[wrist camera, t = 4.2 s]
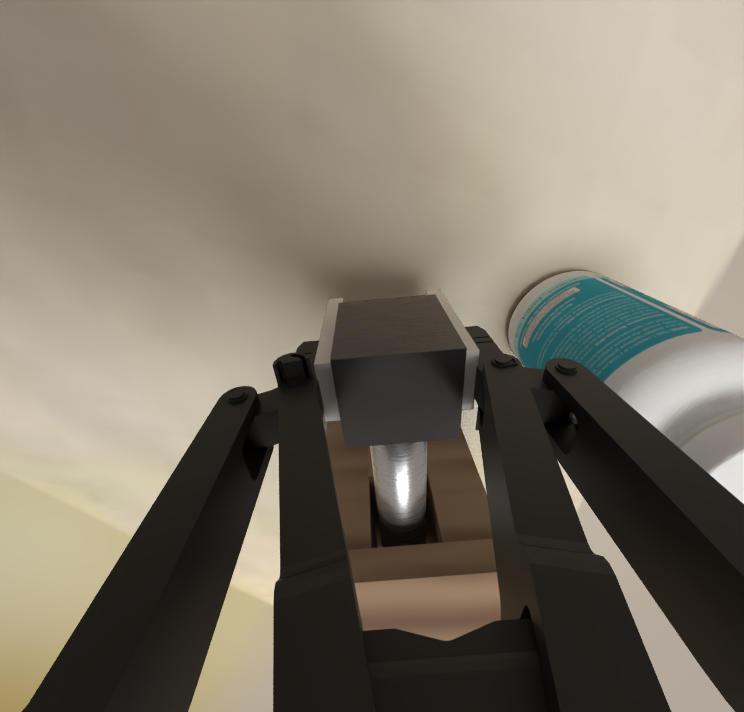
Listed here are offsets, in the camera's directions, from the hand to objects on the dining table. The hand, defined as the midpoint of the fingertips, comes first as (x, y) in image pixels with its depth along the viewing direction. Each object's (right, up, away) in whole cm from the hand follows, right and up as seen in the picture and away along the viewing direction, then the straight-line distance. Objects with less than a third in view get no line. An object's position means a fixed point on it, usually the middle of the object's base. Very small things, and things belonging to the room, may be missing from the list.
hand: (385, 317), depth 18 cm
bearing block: (+1, -11, +11) cm, 16 cm away
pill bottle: (+12, +1, +5) cm, 13 cm away
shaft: (+1, -9, +3) cm, 10 cm away
